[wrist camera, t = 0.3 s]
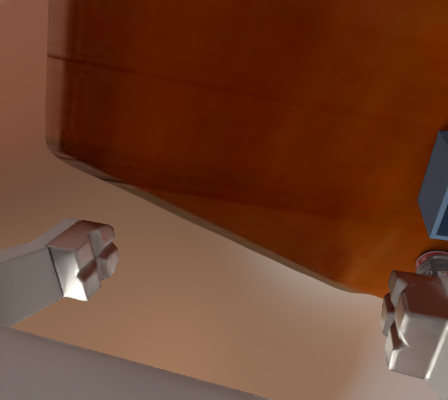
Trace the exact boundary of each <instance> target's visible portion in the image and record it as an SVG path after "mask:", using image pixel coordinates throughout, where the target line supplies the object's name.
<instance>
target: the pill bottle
mask: <svg viewBox="0 0 448 400" xmlns="http://www.w3.org/2000/svg"><path fill="white" fill-rule="evenodd" d="M415 267H416V272H417V274H424V275H431V276H442V277H448V253H447V252H444V251H431V252H427V253H425V254H423V255H421V256H420V257H419V258H418V260H417V261H416V265H415Z"/></svg>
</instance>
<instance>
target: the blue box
mask: <svg viewBox="0 0 448 400" xmlns="http://www.w3.org/2000/svg"><path fill="white" fill-rule="evenodd" d="M418 203H419V206H420V210H421V213H422V216H423V219H424V222H425V225H426V229H427V232H428V235H429V238H433V239H441V240H448V131H439V132H438V135H437V139H436V142H435V145H434V148H433V151H432V155H431V158H430V161H429V164H428V168H427V171H426V174H425V177H424V181H423V184H422V187H421V190H420V193H419V197H418Z"/></svg>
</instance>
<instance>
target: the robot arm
mask: <svg viewBox="0 0 448 400" xmlns="http://www.w3.org/2000/svg"><path fill="white" fill-rule="evenodd" d="M114 238H115V234H114V230H113V227H111V226H110V225H107V224H102V223H96V222H91V221H86V220H79V219H74V218H66V219H64V220H62V221H61V222H59V223H58V224H57V225H55V226H54V227H52V228H51V229H49V230H48V231H47V232H45V233H44V234H43V235H41V236H40V237H38V238H37V239H35V240H34V241H33V242H31V243H30V244H28V243H24V244H20V245H17V246H14V247H11V248H8V249H5V250H1V251H0V400H273V399H268V398H265V397H262V396H258V395H254V394H251V393H247V392H243V391H240V390H236V389H232V388H229V387H225V386H221V385H217V384H214V383H210V382H207V381H203V380H199V379H196V378H192V377H188V376H185V375H181V374H177V373H174V372H170V371H166V370H163V369H159V368H155V367H152V366H148V365H144V364H141V363H137V362H133V361H129V360H126V359H122V358H119V357H115V356H111V355H108V354H104V353H100V352H97V351H93V350H89V349H86V348H82V347H78V346H74V345H71V344H67V343H64V342H60V341H56V340H53V339H49V338H45V337H42V336H38V335H34V334H31V333H26V332H23V331H20V330H16V329H12V328H10V327H11V326H13V325H15V324H17V323H19V322H21V321H22V320H24V319H26V318H28V317H30V316H31V315H33V314H35V313H37V312H39V311H40V310H42V309H44V308H46V307H48V306H49V305H51V304H53V303H55V302H57V301H58V300H60V299H62V298H63V296H64V297H69V298H74V299H79V300H84V301H88V300H89V299H90V298H91V297H92V296H93V295H94V294H95V292H96V291H97V290H98V289H99V288H100V287H101V281H102V280H104V279H106V278H108V277H110V275H112V273H113V272H114V271H115V269H116V266H117V264H118V257H119V254H118V248H117V247H116V246H115V245H114V244H113V242H112V241H113V240H114ZM388 284H389V290H390V293H388V294H387V295H385V296H384V301H383V305H382V313H381V325H382V332H383V334H384V335H385V336H386V337H387V340H386V343H385V354H386V360H387V367H388V370H389V371H393V372H397V373H401V374H405V375H409V376H413V377H417V378H421V379H424V380H428V383H429V385H430V386H431V387H432V389H433V390H434V391H435V392H436V394H437V395H438V396H439V398H440V399H441V400H448V277H442V276H431V275H424V274H417V273H410V272H404V271H397V270H392V272H391V274H390V278H389V281H388Z"/></svg>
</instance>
